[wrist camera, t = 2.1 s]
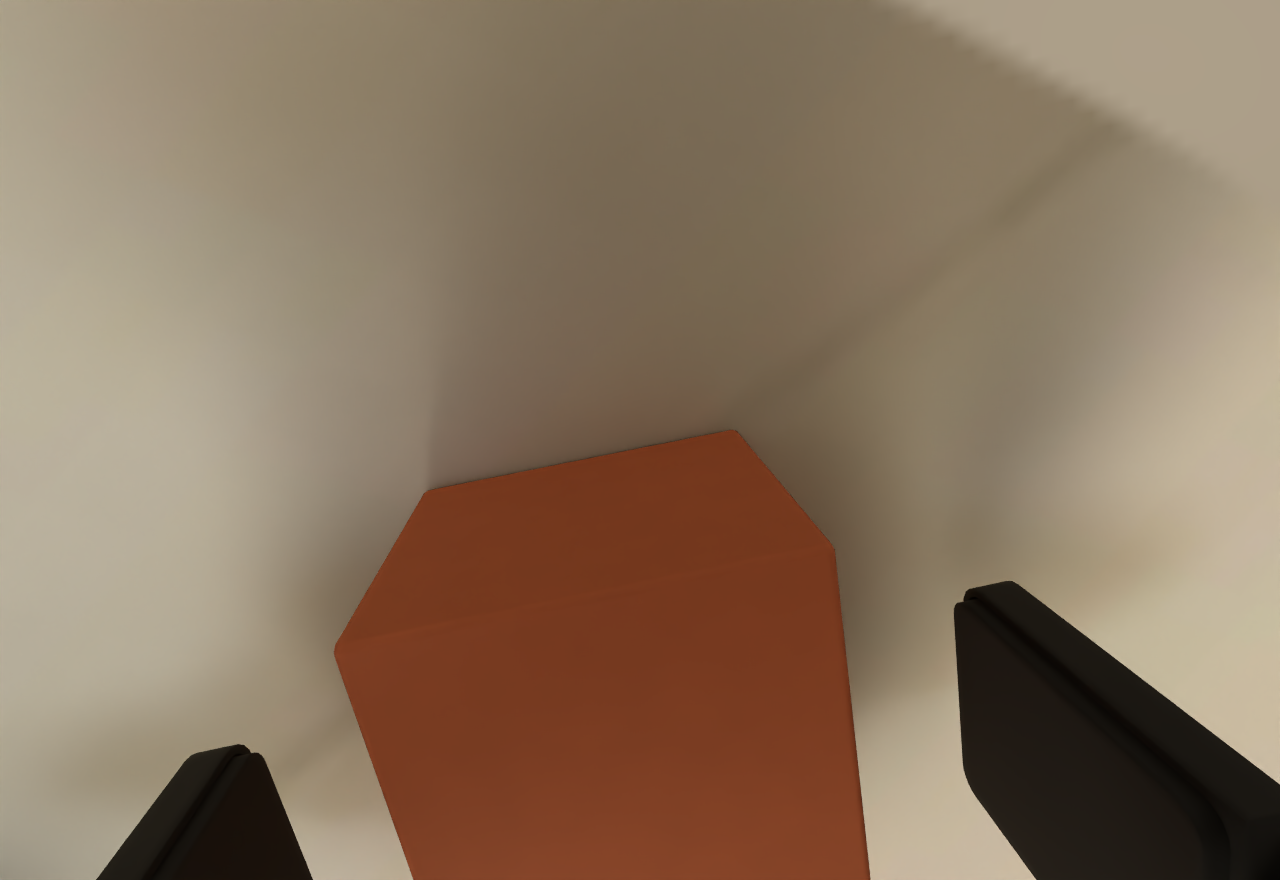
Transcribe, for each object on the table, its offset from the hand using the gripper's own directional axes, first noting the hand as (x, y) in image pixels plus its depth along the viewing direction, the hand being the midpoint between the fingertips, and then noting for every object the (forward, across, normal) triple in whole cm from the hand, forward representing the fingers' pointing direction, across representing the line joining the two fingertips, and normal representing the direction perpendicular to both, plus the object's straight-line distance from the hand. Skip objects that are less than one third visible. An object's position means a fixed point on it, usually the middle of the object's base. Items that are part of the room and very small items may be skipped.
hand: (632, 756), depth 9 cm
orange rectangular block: (+2, 0, 0) cm, 2 cm away
